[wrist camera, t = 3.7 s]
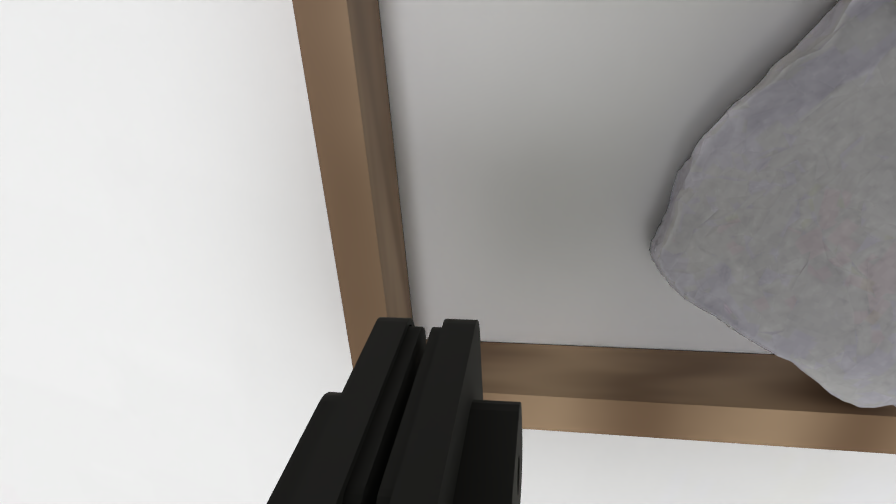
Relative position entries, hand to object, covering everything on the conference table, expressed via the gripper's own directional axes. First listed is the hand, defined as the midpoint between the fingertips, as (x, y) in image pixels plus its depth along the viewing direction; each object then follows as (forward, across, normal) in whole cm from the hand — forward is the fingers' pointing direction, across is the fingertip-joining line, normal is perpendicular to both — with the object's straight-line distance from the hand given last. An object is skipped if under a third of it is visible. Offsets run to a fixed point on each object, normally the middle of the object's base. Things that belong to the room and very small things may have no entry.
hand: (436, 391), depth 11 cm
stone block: (+12, -11, 0) cm, 16 cm away
